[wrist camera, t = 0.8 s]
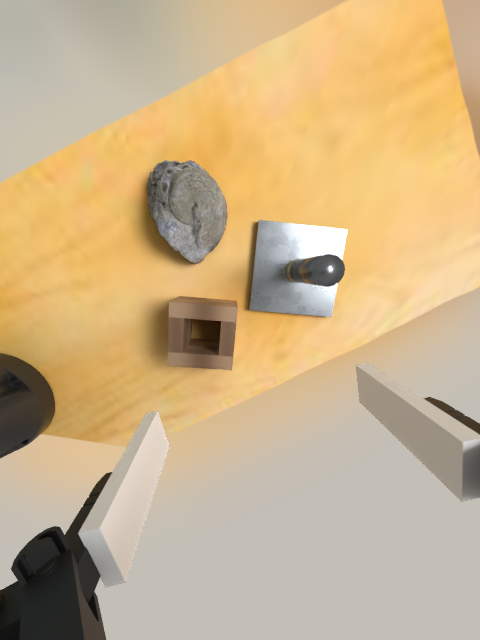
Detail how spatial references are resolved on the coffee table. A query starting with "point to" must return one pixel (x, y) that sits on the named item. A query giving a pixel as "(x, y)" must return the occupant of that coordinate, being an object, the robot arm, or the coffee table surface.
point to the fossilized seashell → (187, 208)
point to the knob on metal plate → (296, 268)
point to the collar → (198, 350)
